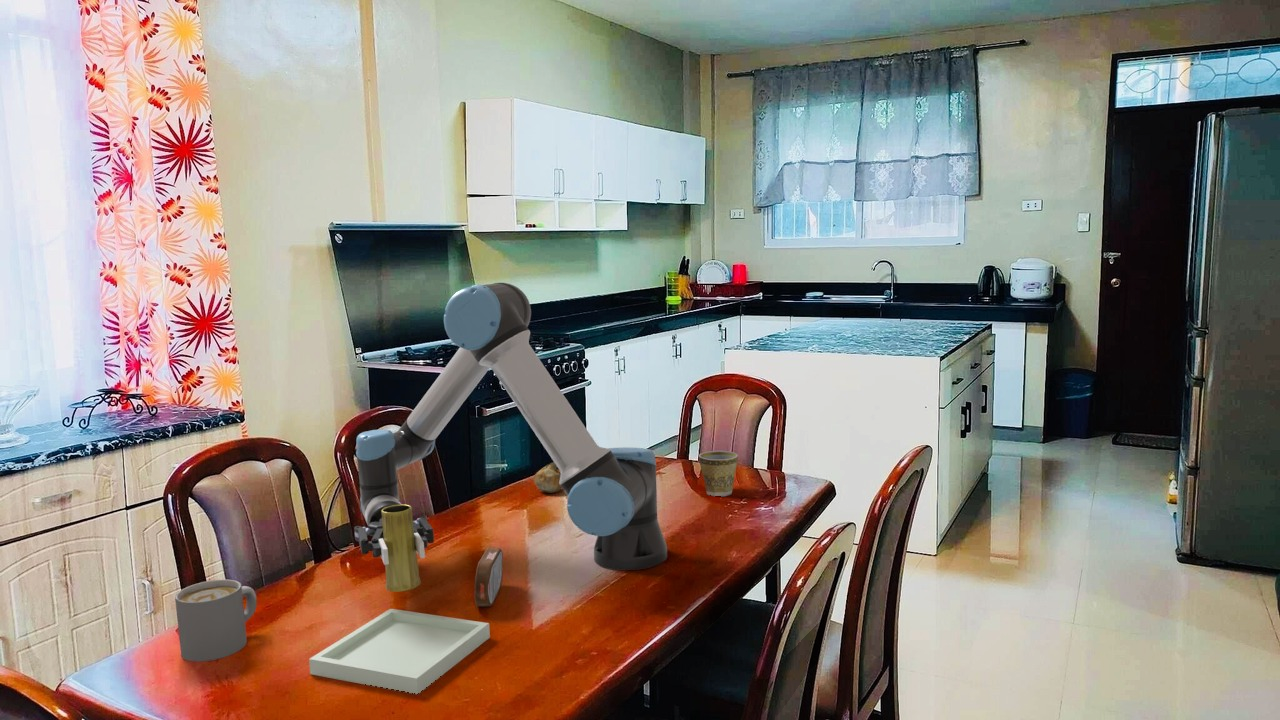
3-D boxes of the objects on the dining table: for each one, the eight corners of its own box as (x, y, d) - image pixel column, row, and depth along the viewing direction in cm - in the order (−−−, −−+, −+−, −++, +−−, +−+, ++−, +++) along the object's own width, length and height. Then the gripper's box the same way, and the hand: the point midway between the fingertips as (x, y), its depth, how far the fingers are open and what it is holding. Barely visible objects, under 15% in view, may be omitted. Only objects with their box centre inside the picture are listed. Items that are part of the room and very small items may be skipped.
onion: (538, 488, 241) (537, 459, 240) (567, 488, 240) (566, 459, 239) (531, 496, 233) (529, 466, 232) (561, 496, 232) (559, 466, 231)
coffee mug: (198, 667, 142) (191, 607, 141) (170, 651, 148) (164, 593, 147) (277, 637, 152) (272, 580, 151) (248, 623, 159) (243, 569, 157)
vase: (427, 580, 162) (420, 504, 160) (408, 593, 156) (401, 514, 154) (398, 578, 164) (391, 502, 162) (378, 590, 158) (371, 512, 156)
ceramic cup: (740, 498, 225) (739, 459, 223) (700, 499, 225) (699, 460, 224) (735, 484, 238) (734, 447, 236) (698, 485, 238) (697, 448, 236)
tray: (489, 637, 149) (489, 623, 149) (417, 694, 131) (416, 678, 131) (391, 622, 157) (390, 608, 156) (310, 674, 138) (309, 658, 138)
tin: (490, 582, 174) (488, 541, 173) (506, 582, 174) (504, 540, 173) (473, 614, 159) (471, 569, 158) (491, 614, 159) (488, 568, 158)
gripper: (435, 529, 179) (459, 564, 158) (339, 545, 172) (350, 584, 151) (432, 493, 178) (455, 523, 157) (335, 507, 171) (346, 541, 150)
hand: (404, 553), depth 154 cm, fingers closed on vase, 5 cm apart
